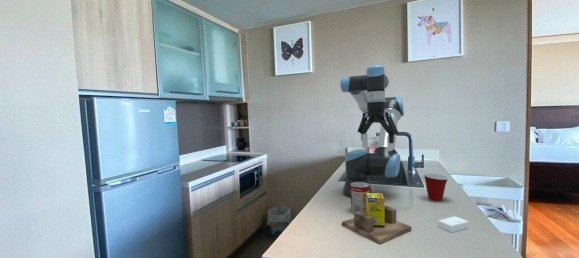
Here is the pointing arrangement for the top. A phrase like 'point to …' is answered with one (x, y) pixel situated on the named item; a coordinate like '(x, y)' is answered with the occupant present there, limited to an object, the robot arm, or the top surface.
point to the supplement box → (376, 208)
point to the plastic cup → (435, 185)
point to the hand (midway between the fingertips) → (376, 149)
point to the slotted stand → (378, 234)
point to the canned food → (359, 196)
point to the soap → (453, 224)
